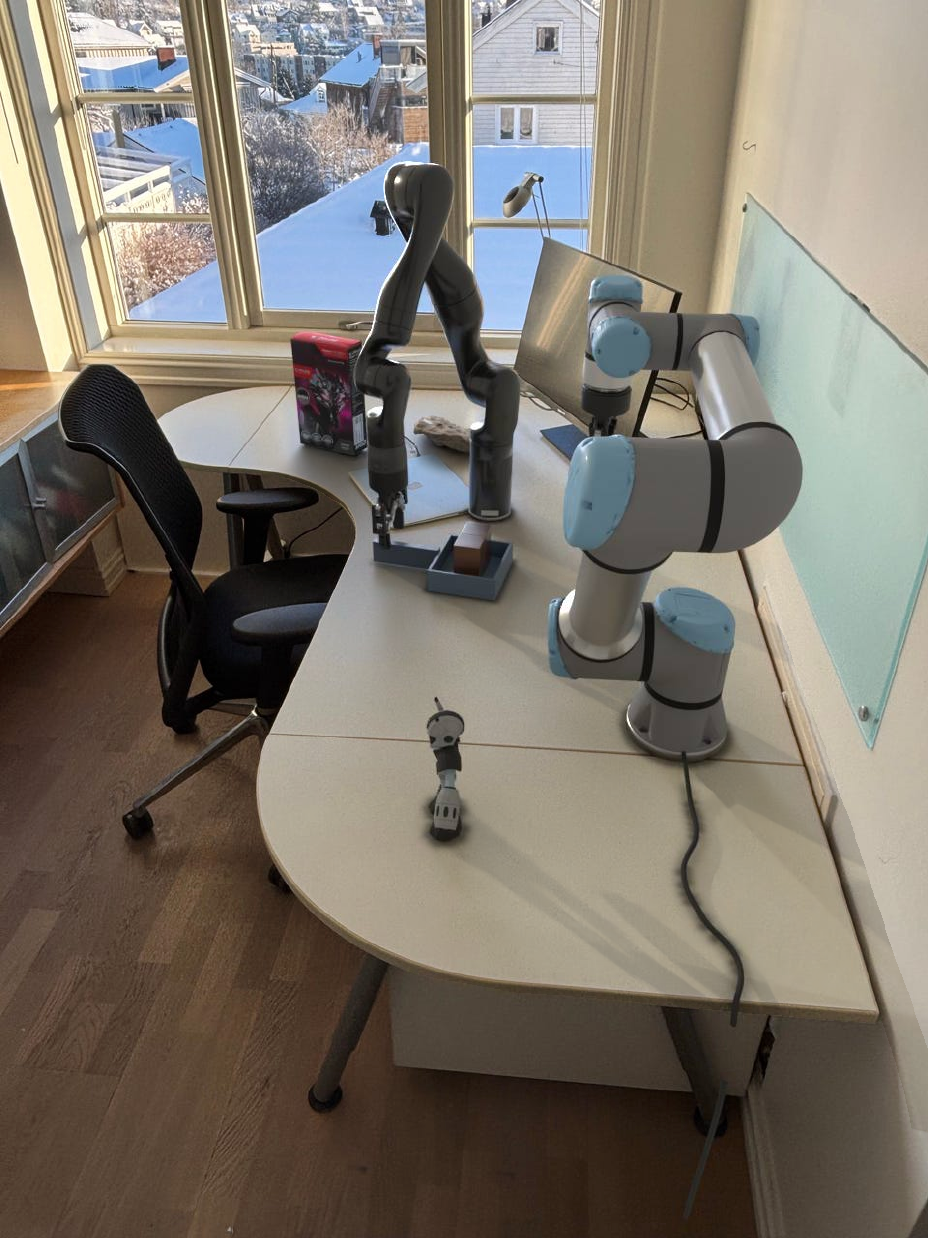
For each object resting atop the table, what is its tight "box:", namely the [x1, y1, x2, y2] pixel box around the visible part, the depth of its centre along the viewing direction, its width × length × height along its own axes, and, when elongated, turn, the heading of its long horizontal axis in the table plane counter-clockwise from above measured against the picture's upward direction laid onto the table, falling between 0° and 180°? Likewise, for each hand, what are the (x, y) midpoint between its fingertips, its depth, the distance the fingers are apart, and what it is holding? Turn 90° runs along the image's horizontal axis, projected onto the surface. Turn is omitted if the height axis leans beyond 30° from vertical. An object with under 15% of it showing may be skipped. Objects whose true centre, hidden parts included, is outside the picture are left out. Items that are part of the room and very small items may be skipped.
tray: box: [372, 533, 514, 602], centre depth 181 cm, size 15×27×5 cm, turn 75°
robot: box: [425, 696, 465, 842], centre depth 121 cm, size 20×5×20 cm, turn 3°
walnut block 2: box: [454, 532, 486, 577], centre depth 177 cm, size 5×5×8 cm
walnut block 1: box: [460, 521, 493, 571], centre depth 181 cm, size 5×5×8 cm
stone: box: [412, 415, 470, 453], centre depth 232 cm, size 21×15×6 cm
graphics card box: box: [289, 330, 367, 456], centre depth 225 cm, size 17×7×27 cm, turn 62°
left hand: (392, 537), depth 183 cm, fingers open, 8 cm apart
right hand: (594, 510), depth 151 cm, fingers open, 13 cm apart
